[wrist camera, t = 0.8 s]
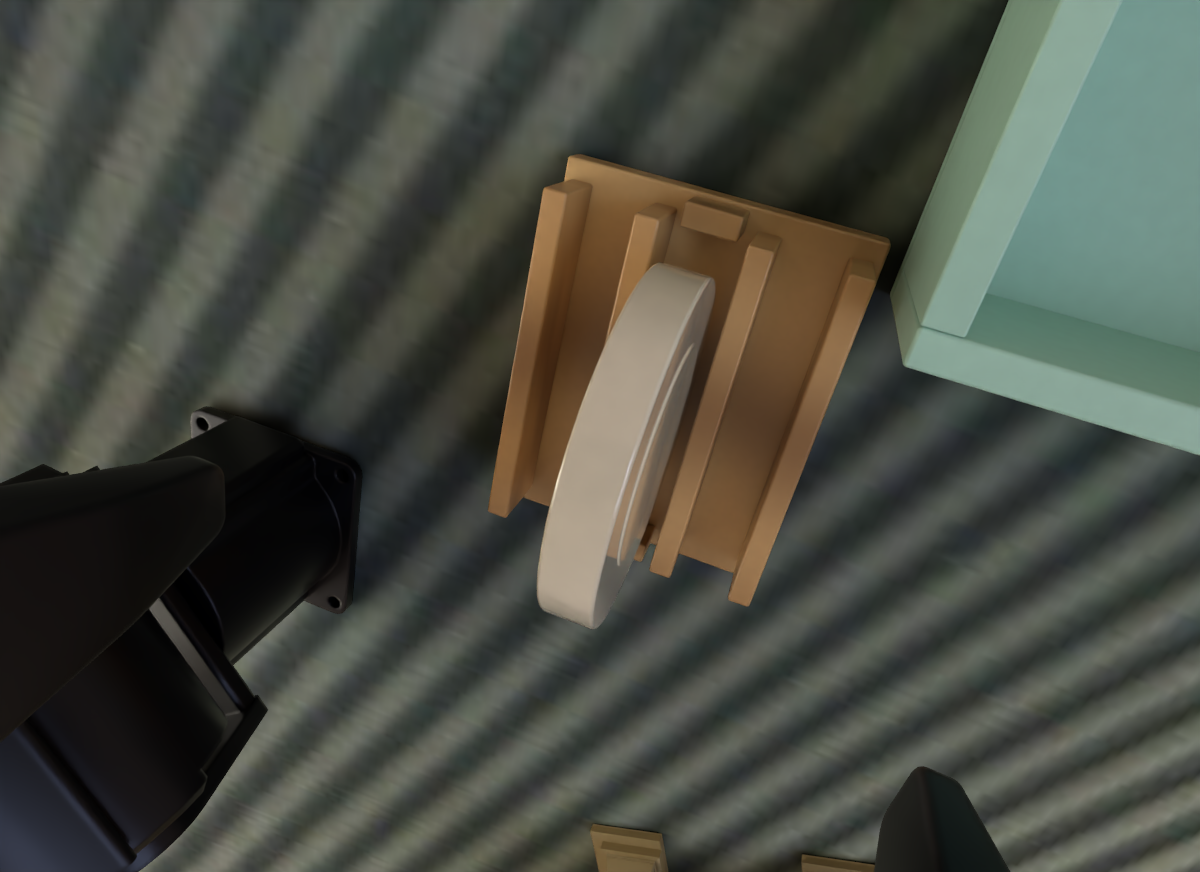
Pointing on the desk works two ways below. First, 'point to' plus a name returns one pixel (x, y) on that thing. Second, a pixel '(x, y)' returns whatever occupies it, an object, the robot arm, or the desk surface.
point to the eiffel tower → (640, 861)
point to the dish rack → (729, 362)
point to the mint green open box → (1070, 221)
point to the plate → (623, 443)
